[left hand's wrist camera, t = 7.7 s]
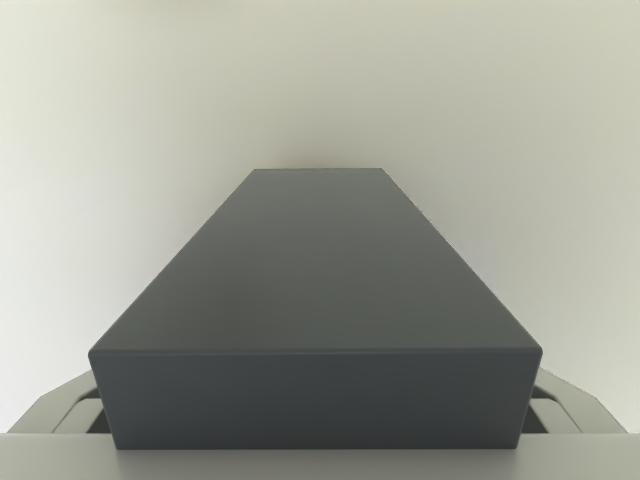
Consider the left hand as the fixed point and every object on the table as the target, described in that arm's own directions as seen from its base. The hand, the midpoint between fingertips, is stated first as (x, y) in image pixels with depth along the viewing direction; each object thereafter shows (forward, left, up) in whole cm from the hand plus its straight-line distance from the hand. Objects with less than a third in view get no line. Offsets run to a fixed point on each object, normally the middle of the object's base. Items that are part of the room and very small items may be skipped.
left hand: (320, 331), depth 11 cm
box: (+10, +3, -7) cm, 13 cm away
